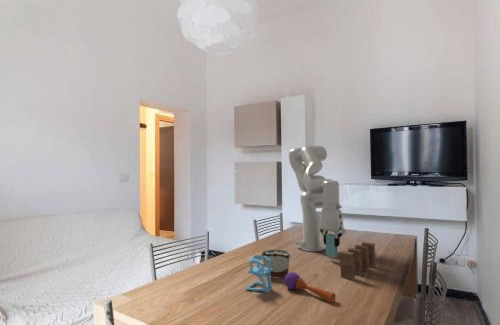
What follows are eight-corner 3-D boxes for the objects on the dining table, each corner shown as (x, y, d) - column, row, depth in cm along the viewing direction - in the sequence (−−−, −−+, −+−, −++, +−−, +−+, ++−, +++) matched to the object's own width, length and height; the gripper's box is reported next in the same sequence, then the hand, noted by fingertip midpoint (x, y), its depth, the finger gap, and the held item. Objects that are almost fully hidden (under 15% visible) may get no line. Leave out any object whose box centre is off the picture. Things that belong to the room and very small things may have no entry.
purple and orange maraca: (327, 294, 93) (280, 274, 108) (328, 311, 94) (281, 288, 109) (337, 285, 97) (290, 267, 112) (338, 302, 98) (292, 281, 113)
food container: (294, 274, 123) (293, 250, 123) (291, 279, 117) (290, 254, 118) (265, 271, 127) (265, 248, 127) (261, 276, 121) (261, 252, 122)
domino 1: (352, 279, 115) (351, 254, 115) (340, 276, 119) (340, 251, 119) (355, 278, 116) (354, 253, 117) (343, 275, 120) (342, 250, 120)
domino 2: (360, 275, 120) (359, 250, 120) (348, 272, 123) (347, 248, 123) (362, 274, 121) (361, 249, 121) (350, 271, 125) (350, 247, 125)
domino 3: (367, 271, 124) (366, 247, 124) (355, 268, 128) (355, 245, 128) (369, 270, 125) (368, 246, 126) (357, 267, 129) (357, 244, 129)
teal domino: (335, 257, 136) (335, 236, 136) (325, 255, 140) (325, 234, 140) (337, 256, 138) (337, 235, 138) (328, 254, 141) (327, 233, 141)
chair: (265, 295, 103) (264, 260, 103) (245, 290, 107) (245, 257, 108) (275, 287, 110) (274, 255, 110) (256, 283, 114) (255, 252, 114)
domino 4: (373, 267, 129) (372, 244, 129) (362, 265, 132) (361, 242, 133) (375, 266, 130) (374, 243, 130) (364, 264, 134) (363, 242, 134)
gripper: (351, 207, 135) (352, 247, 135) (319, 203, 147) (320, 240, 147) (343, 209, 130) (344, 250, 130) (311, 205, 142) (311, 243, 142)
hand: (331, 244), depth 139 cm, fingers closed on teal domino, 4 cm apart
